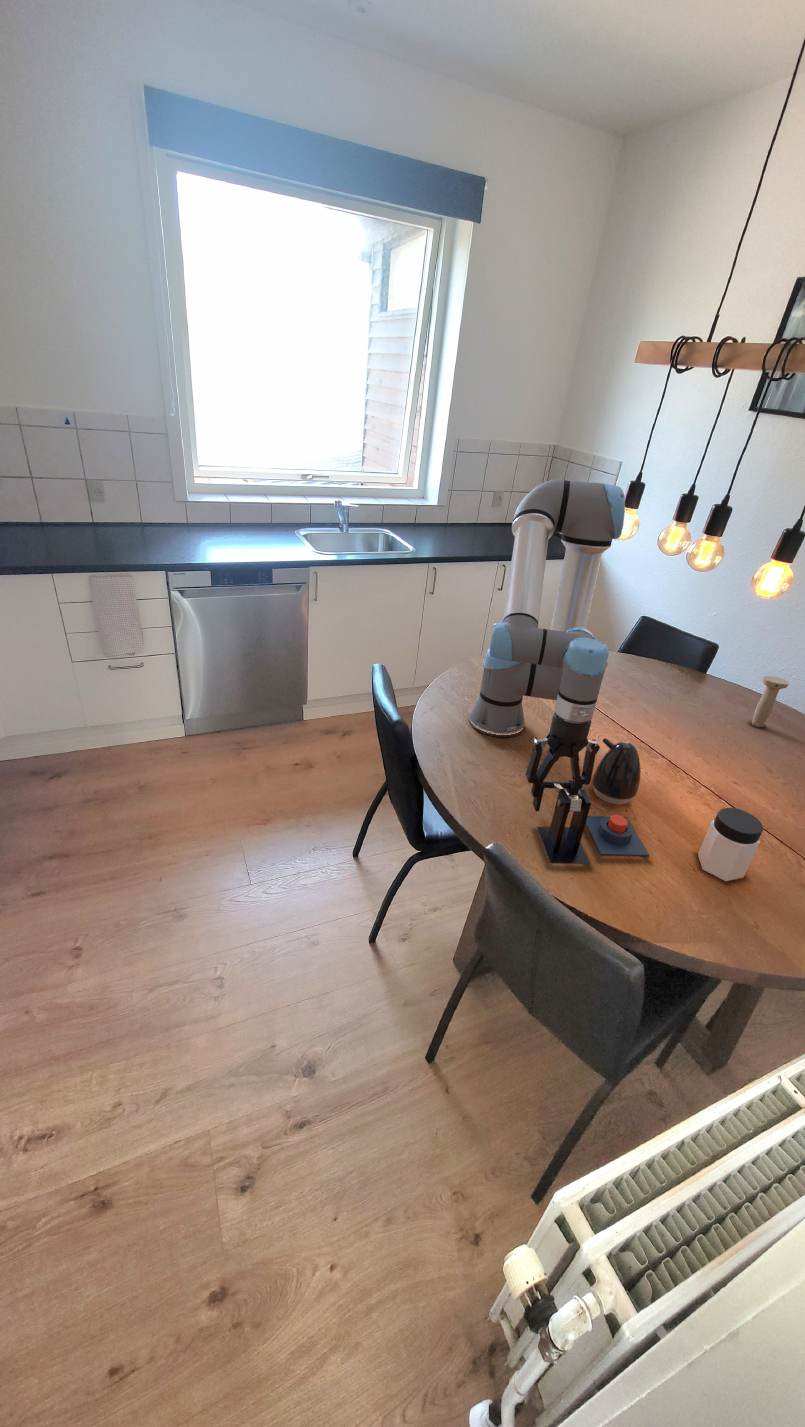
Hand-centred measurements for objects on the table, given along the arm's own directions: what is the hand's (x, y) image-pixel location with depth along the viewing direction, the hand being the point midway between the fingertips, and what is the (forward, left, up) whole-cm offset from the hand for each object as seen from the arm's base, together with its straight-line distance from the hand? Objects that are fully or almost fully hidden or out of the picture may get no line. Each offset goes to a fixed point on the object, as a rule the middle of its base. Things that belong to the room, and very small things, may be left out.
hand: (550, 807), depth 128 cm
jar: (+14, +32, -3) cm, 35 cm away
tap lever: (+6, 0, +6) cm, 8 cm away
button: (+7, +12, +1) cm, 14 cm away
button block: (+7, +12, -3) cm, 14 cm away
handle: (-46, +76, -3) cm, 89 cm away
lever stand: (+10, 0, -3) cm, 10 cm away
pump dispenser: (-8, +17, -3) cm, 19 cm away
